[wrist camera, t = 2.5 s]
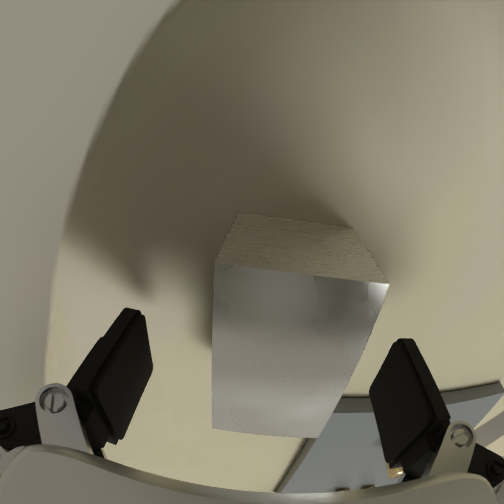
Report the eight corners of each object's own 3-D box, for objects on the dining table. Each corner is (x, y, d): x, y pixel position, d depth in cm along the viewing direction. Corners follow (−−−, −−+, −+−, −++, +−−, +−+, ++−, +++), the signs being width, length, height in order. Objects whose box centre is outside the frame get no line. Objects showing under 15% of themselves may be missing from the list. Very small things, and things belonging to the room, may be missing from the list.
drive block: (351, 226, 11) (389, 283, 7) (312, 366, 14) (317, 438, 10) (237, 211, 11) (211, 262, 7) (226, 357, 15) (210, 427, 10)
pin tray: (499, 382, 14) (518, 417, 11) (396, 484, 23) (400, 509, 19) (330, 397, 15) (336, 455, 11) (275, 492, 24) (273, 521, 20)
